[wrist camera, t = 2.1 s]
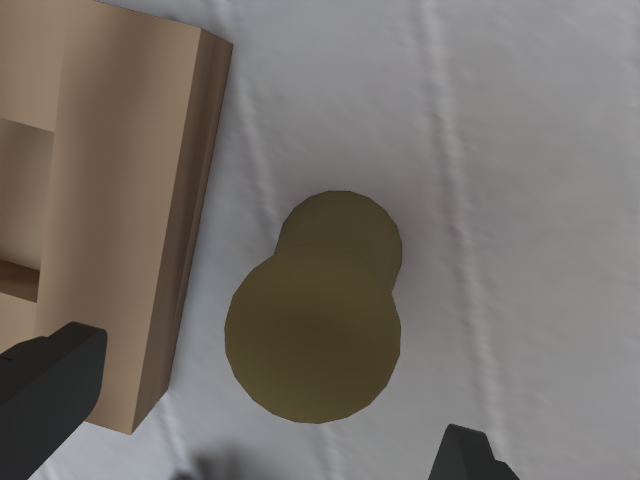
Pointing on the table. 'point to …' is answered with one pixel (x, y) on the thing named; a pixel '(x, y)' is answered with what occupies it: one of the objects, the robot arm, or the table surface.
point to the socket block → (104, 182)
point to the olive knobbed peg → (320, 312)
